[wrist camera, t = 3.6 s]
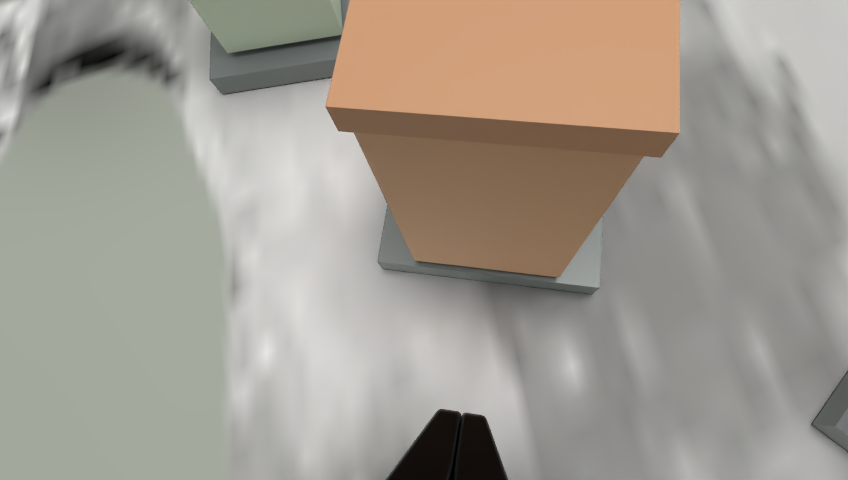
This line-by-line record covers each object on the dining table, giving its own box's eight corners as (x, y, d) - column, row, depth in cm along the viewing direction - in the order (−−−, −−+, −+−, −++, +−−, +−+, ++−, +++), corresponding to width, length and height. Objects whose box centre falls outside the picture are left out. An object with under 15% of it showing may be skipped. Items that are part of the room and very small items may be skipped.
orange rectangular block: (564, 282, 15) (679, 132, 6) (409, 264, 16) (325, 106, 7) (573, 155, 16) (680, -116, 8) (428, 142, 17) (376, -119, 8)
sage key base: (373, 70, 20) (368, 54, 19) (222, 94, 20) (209, 79, 19) (363, -40, 21) (358, -61, 20) (224, -16, 22) (213, -35, 21)
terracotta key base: (592, 294, 16) (599, 288, 15) (382, 269, 17) (377, 261, 16) (604, 59, 19) (611, 41, 18) (421, 49, 20) (418, 31, 19)
